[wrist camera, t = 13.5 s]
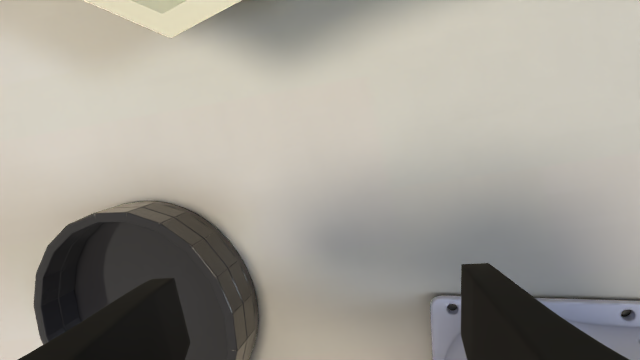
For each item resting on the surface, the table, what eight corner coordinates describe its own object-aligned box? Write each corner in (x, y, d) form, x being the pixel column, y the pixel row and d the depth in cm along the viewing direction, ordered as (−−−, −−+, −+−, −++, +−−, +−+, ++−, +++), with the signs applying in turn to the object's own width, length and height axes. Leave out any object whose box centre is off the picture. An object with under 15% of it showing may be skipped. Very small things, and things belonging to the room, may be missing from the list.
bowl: (245, 197, 22) (220, 209, 19) (269, 407, 23) (248, 445, 21) (60, 203, 25) (15, 215, 22) (93, 388, 26) (55, 419, 24)
